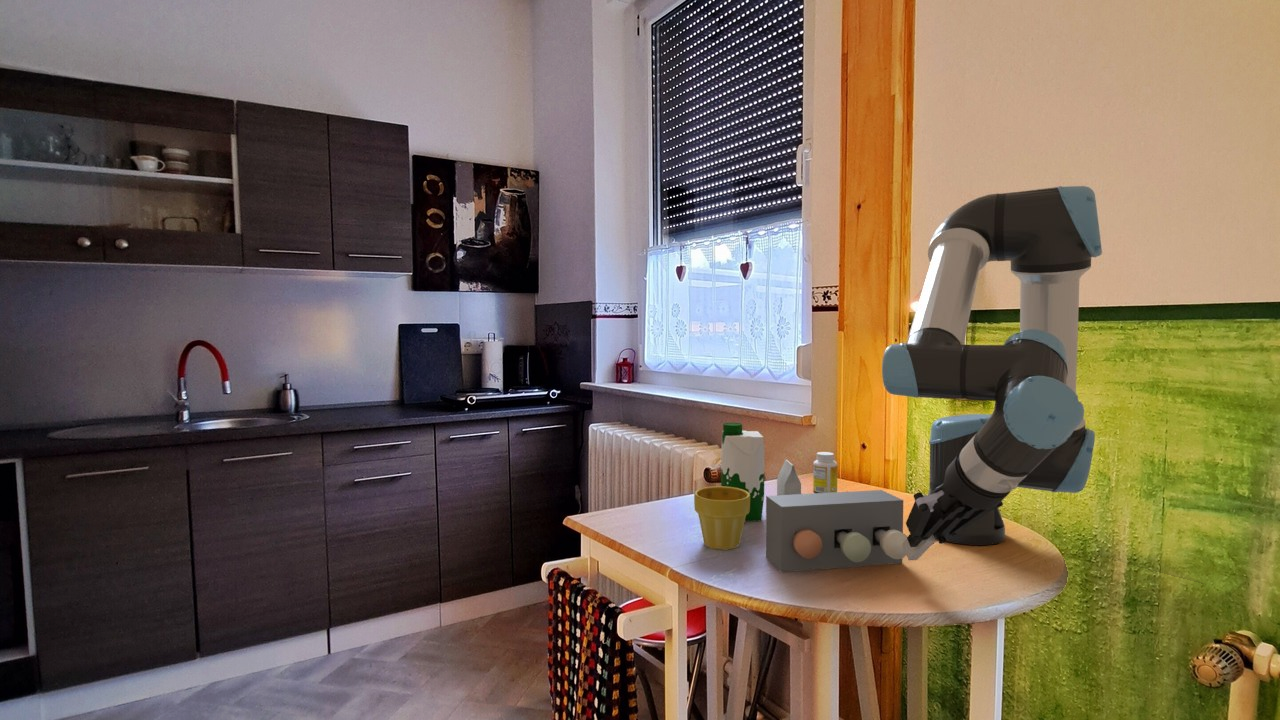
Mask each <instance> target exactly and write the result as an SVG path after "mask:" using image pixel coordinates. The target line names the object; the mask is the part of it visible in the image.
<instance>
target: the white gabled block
mask: <svg viewBox="0 0 1280 720" xmlns="http://www.w3.org/2000/svg"><path fill="white" fill-rule="evenodd" d="M776 478H777V479H776V495H794V494H802V482H801V481H800V478H799V476H798V474H797V471H796V469H795V465H794V464H793V463H791V462H790V461H789V460H788V459H784V462H783V464H782V467H781V469H780V471H779V473H778V475H777V477H776Z"/></svg>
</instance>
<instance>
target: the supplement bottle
mask: <svg viewBox="0 0 1280 720" xmlns="http://www.w3.org/2000/svg"><path fill="white" fill-rule="evenodd" d="M812 466H813V469H812V471H813V475H812V476H813V479H812V480H813V482H812V485H813V489H812V490H813V491H812V492H813V493H812V494H814V493H833V492H838V462H837V461H836V460H835V454H834V453H833V452H830V451H818V452H817V453H816V459H815V460H814V461H813V465H812Z"/></svg>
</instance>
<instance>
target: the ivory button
mask: <svg viewBox="0 0 1280 720" xmlns="http://www.w3.org/2000/svg"><path fill="white" fill-rule="evenodd" d="M873 537H874V539H875V540H876V541H878V542H879V543H880V548H881V550H882V551H883V552H884V553H885V554H886V555H888V556H889V557H891V558H893V559H902V560H903V558H905V557H907V555H906V553H905V551H904V548H903V546H902V544H903V542H904V541H905V540H906V539H907V537H908V535H907V534H906V533H904V532H903V533H902V532H900V531H898V530H895V529H891V530H888V531H885V530H883V529H880V528H879V529H876V530H875V531H874V533H873Z"/></svg>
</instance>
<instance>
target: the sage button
mask: <svg viewBox="0 0 1280 720" xmlns="http://www.w3.org/2000/svg"><path fill="white" fill-rule="evenodd" d="M835 540H836V542H837V543H839V544H840V548H841V552H842V553H843V555H844V556H846V557H847V558H848V559H850V560H851V561H853V562H861V561H864V560H865V559H866V558H867V557H868V556H869V554H870V551H871V544H870V542H869V540H868V539H867V538H866V537H864V536H863V535H861V534H860V533H858V532H850V533H848V534H847V533H846V532H844V531H839V532H837V534H836V536H835Z"/></svg>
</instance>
